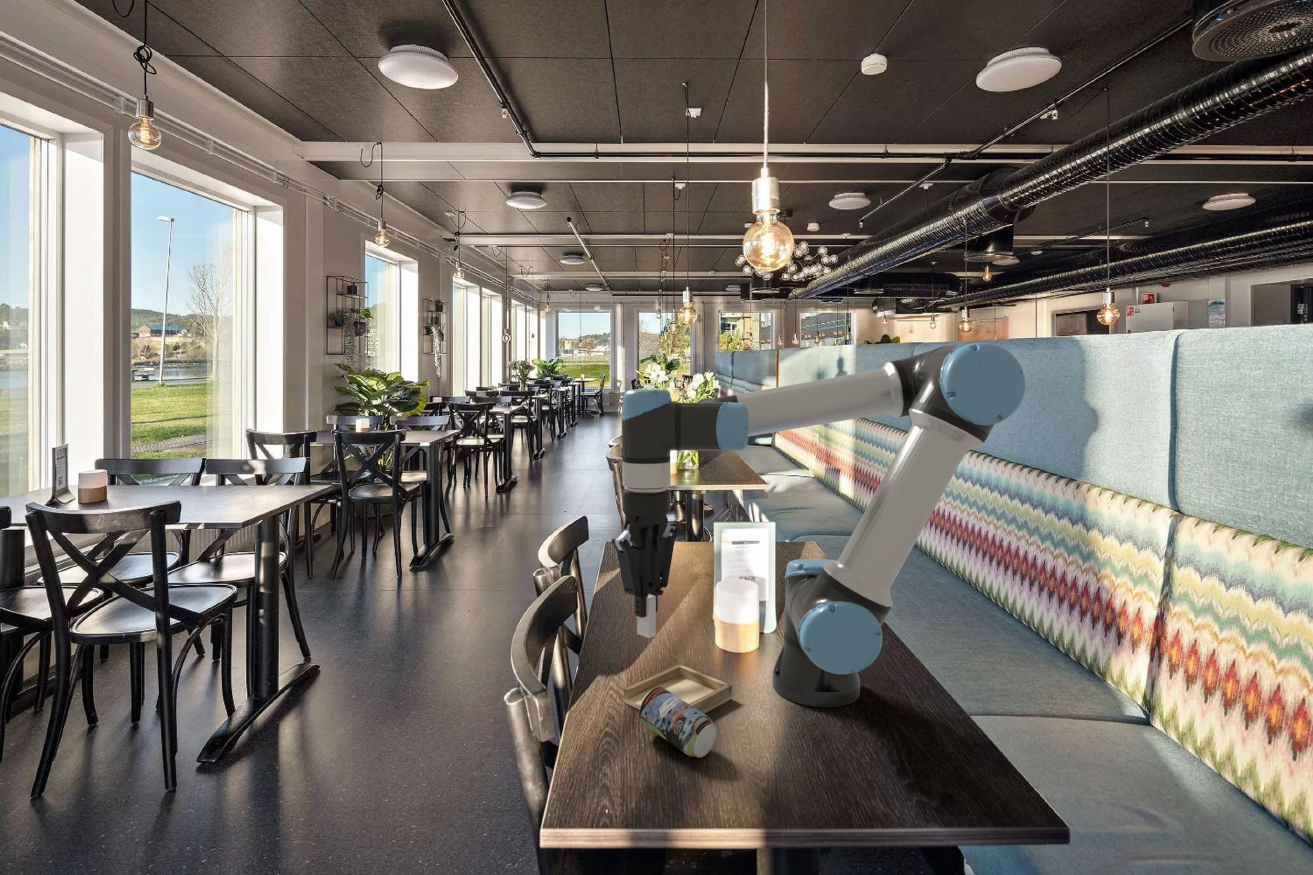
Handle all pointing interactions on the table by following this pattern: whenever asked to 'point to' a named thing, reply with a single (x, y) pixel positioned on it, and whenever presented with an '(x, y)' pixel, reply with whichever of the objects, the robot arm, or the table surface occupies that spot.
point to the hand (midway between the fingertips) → (646, 634)
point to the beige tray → (682, 688)
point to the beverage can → (678, 722)
